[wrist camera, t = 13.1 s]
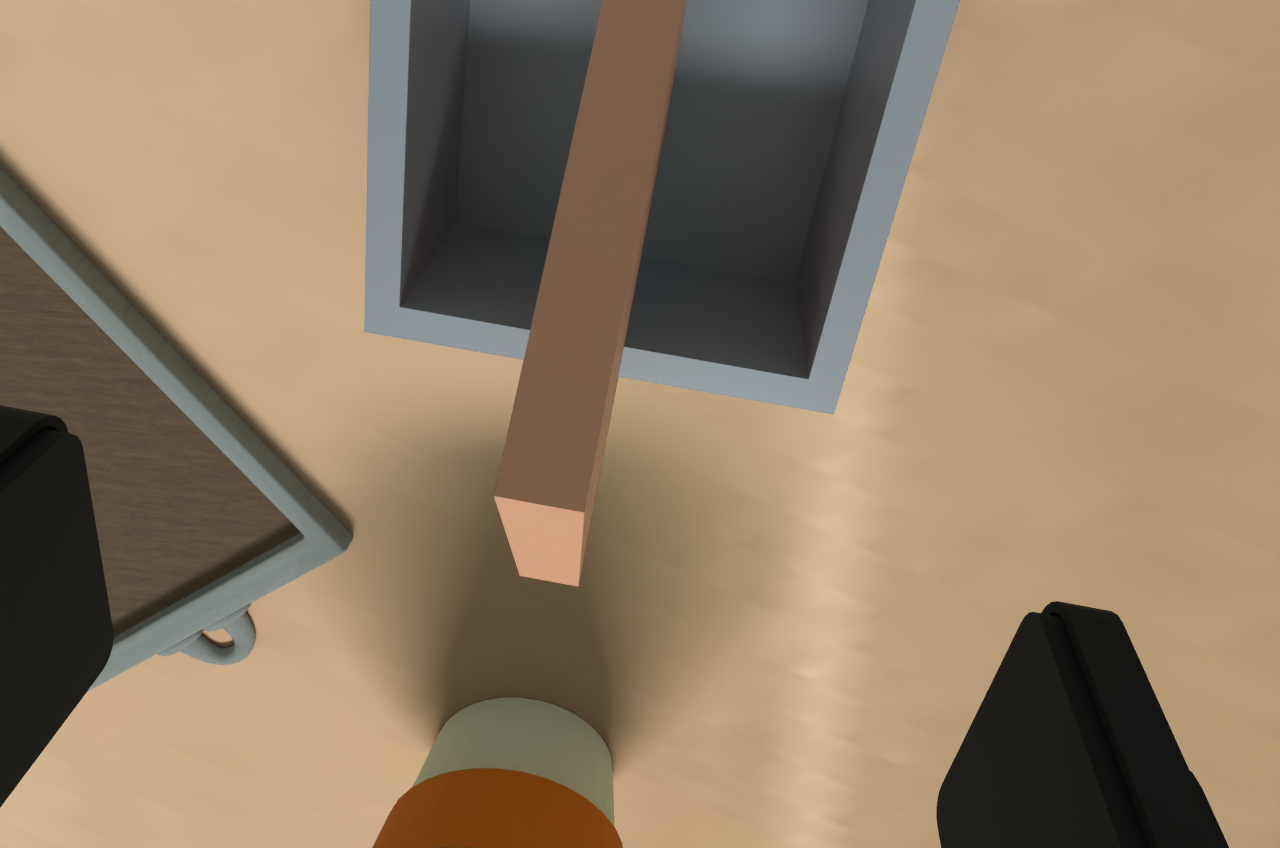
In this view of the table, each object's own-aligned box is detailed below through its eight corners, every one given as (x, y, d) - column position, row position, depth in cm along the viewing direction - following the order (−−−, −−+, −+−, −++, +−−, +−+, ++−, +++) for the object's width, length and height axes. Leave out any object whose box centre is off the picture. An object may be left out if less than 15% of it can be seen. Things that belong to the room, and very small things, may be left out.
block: (712, -156, 22) (584, 512, 18) (668, 111, 32) (578, 586, 27) (640, -170, 22) (493, 495, 18) (618, 101, 31) (519, 575, 27)
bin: (932, -131, 29) (995, -116, 23) (813, 302, 37) (833, 414, 30) (457, -220, 29) (374, -232, 22) (432, 234, 36) (364, 331, 30)
